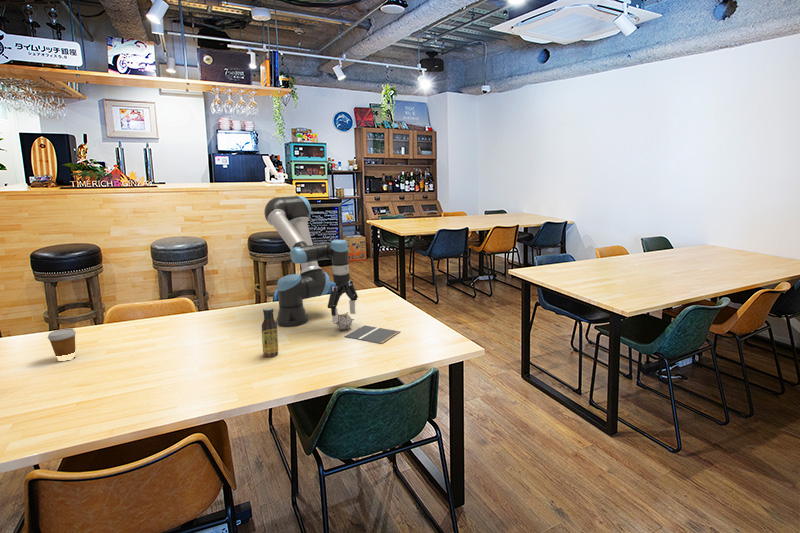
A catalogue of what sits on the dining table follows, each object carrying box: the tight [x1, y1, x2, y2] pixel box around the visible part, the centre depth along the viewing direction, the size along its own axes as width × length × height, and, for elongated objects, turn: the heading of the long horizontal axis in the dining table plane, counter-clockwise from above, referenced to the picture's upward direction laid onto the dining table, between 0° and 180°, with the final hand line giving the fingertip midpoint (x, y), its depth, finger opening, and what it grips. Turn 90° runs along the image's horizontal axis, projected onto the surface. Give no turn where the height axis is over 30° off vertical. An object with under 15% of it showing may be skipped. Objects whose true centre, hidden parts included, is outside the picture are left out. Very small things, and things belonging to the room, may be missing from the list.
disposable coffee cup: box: [47, 328, 77, 357], centre depth 190 cm, size 10×10×12 cm
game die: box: [333, 312, 355, 332], centre depth 215 cm, size 9×8×10 cm
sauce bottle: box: [261, 307, 279, 358], centre depth 186 cm, size 7×6×20 cm
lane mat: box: [344, 325, 402, 345], centre depth 208 cm, size 20×16×1 cm
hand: (344, 317), depth 214 cm, fingers open, 13 cm apart
